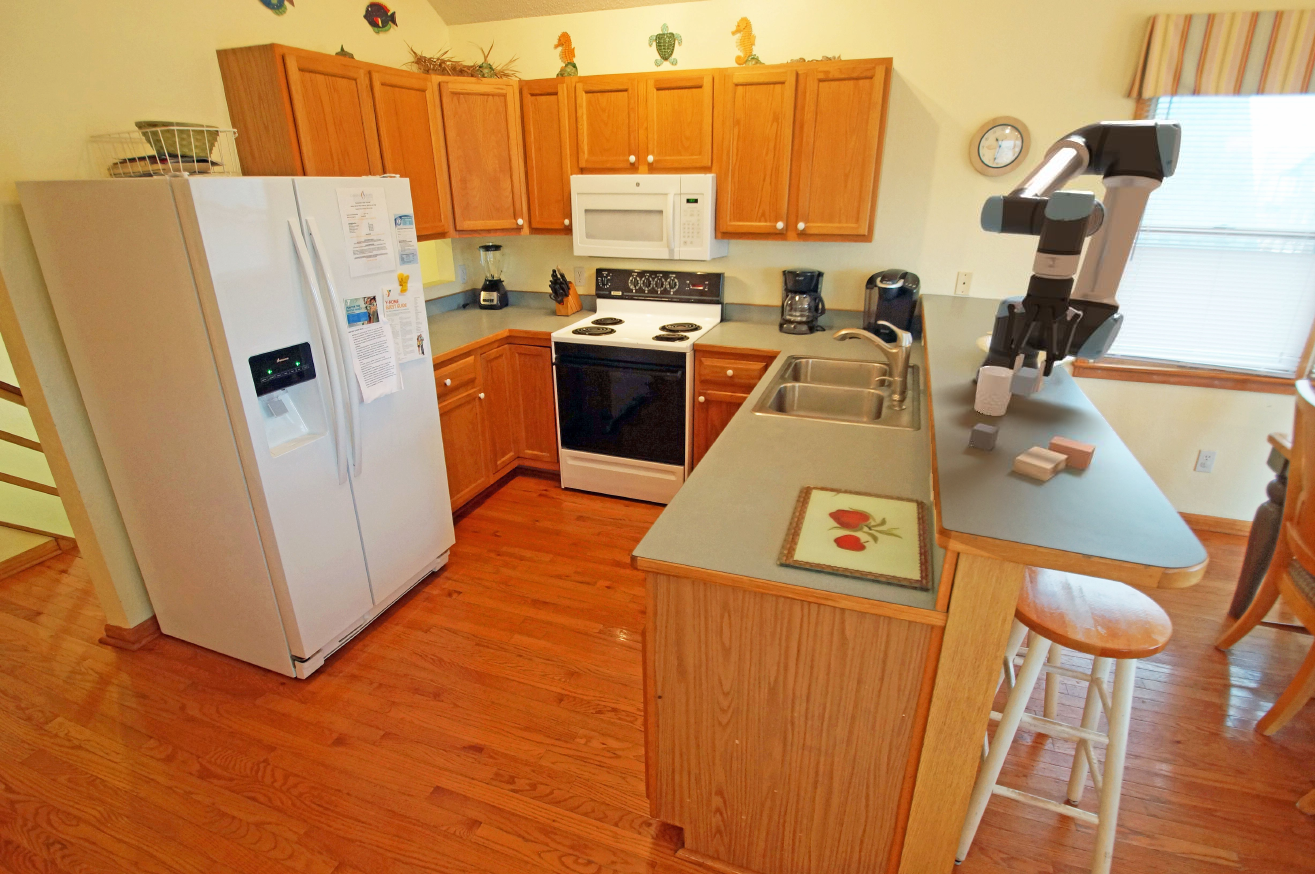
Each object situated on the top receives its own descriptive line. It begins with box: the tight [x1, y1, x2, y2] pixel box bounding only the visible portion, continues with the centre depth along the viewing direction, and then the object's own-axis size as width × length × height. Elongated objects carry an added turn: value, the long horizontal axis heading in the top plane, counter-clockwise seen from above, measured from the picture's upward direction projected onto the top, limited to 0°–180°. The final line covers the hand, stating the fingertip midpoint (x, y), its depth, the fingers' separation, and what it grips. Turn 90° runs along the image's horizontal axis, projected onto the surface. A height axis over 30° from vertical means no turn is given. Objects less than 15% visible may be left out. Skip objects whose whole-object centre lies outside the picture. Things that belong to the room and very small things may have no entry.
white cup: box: [973, 366, 1013, 417], centre depth 152 cm, size 8×8×10 cm
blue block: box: [1009, 367, 1039, 398], centre depth 135 cm, size 7×4×4 cm, turn 136°
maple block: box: [1012, 445, 1068, 482], centre depth 124 cm, size 9×6×3 cm, turn 130°
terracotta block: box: [1047, 436, 1096, 471], centre depth 128 cm, size 7×4×4 cm, turn 46°
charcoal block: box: [968, 422, 1000, 452], centre depth 134 cm, size 4×4×4 cm
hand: (1025, 387), depth 136 cm, fingers closed on blue block, 4 cm apart
